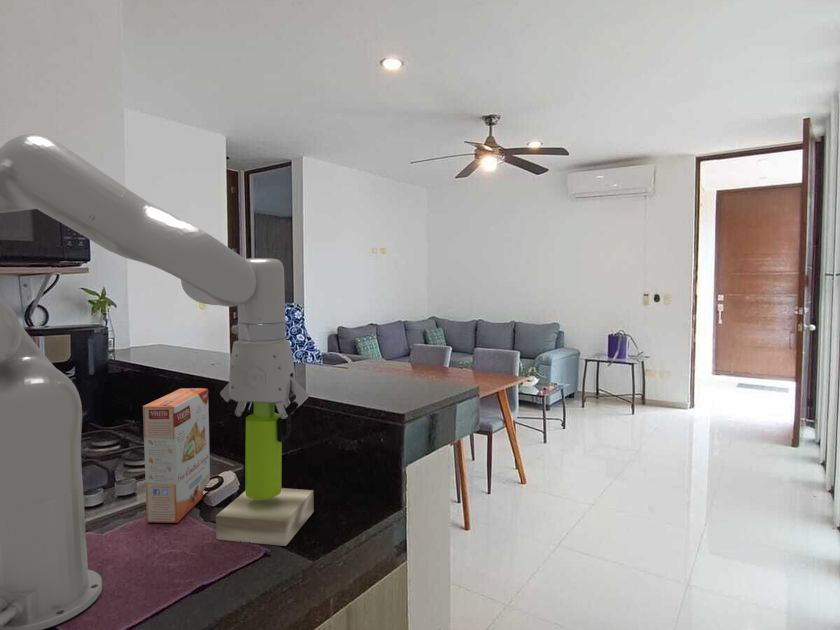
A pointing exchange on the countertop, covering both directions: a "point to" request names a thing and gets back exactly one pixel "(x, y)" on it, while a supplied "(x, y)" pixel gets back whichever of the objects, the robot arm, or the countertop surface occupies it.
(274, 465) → the soap dispenser
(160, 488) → the cracker box
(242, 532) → the birch stand
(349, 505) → the countertop surface
